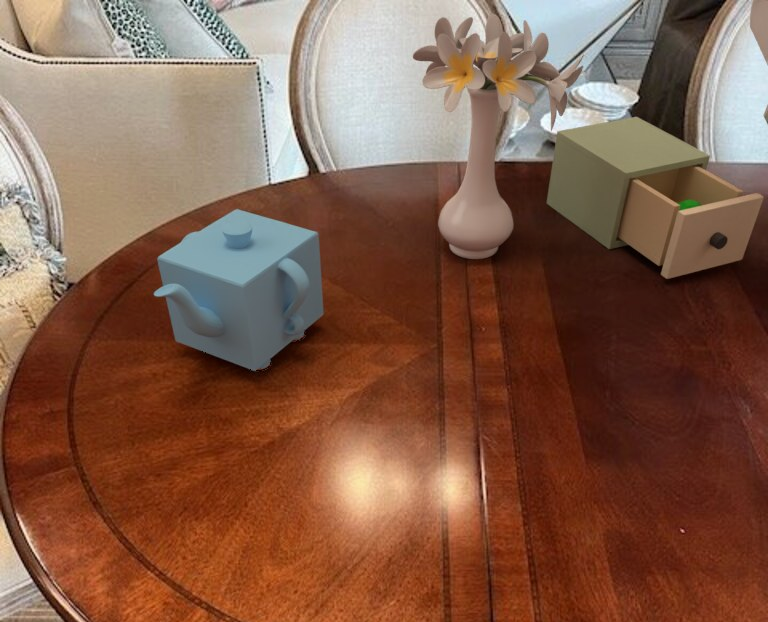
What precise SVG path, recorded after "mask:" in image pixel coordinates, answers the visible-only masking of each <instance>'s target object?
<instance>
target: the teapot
mask: <svg viewBox="0 0 768 622" xmlns="http://www.w3.org/2000/svg"><path fill="white" fill-rule="evenodd" d="M319 235H320V234H319V232H318V231H315V230H311V229H307V228H305V227H301V226H297V225H294V224H290V223H288V222H285V221H280V220H277V219H273V218H269V217H266V216H263V215H259V214H256V213H251V212H248V211H246V210H245V211H244V210H242V209H238V208H236V209H234V210H233V211H230V212H229V213H227V214H225V215H224V216H222V217H221V218H219V219H217V220H216V221H214V222H212V223H210V224H209V225H207V226H206V227H204V228H202V229H201V230H199V231H193V232H189V233H188V234H186V235H185V236H184V237H183V239H182V240H181V242H179V243H178V244H176V245H175V246H173V247H171V248H170V249H168V250H166V251H165V252H163V253H162V254H160V255H158V257H157V258H156V260H157V264H158V270H159V275H160V277H161V282H162V286H160V287H159V288H158V289H156V290H155V291H154V292H153V296H154V297H156V298H157V297H158V298H165V301H166V304H167V310H168V314H169V319H170V323H171V328H172V332H173V336H174V340H175V342H176V343H179V344H182V345H185V346H187V347H190V348H193V349H194V350H198V351H201V352H202V351H203V352H202V353H205V352H206V353H205V354H209V355H211V356H214V357H216V358H218V359H221V360H224V361H226V362H230V363H233V364H234V365H237V366H239V367H243V368H246V369H248V370H250V369H251V370H250V371H253V372H257V371H256V370H257V369H260V368H261V369H263V368H265V367H267V366H268V365H269V364H270V362H271V363H272V361H271V359H272V358H273V357H275V355H277V354H278V353H279V352H280V351H282V350H283V349H285V347H287V346H288V345H289V344H290V343H291V342H293V341H292V340H294V339H300V338H301V337H303V335H304V332H305V331H306V330H307V329H308V328H310V326H312V325H313V324H314V323H315V322H317V321H318V320H319V319H321V317H322V316H324V314H325V312H324V298H323V283H322V282H323V280H322V265H321V249H320V236H319Z"/></svg>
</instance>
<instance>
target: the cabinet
mask: <svg viewBox="0 0 768 622" xmlns="http://www.w3.org/2000/svg"><path fill="white" fill-rule="evenodd" d="M710 158H711V155H710V154H708V153H706V152H704V151H703V150H700V149H698V148H696V147H695V146H693V145H691V144H689V143H687V142H685V141H684V140H681V139H679V138H678V137H676V136H674V135H672V134H670V133H668V132H666V131H664V130H662V129H661V128H659V127H657V126H655V125H653V124H651V123H650V122H648V121H645V120H644V119H642V118H640V117H638V116H633V117H627V118H621V119H616V120H610V121H606V122H600V123H595V124H588V125H584V126H578V127H572V128H568V129H562V130H557V131H556V138H555V144H554V150H553V156H552V163H551V171H550V176H549V177H550V178H549V185H548V191H547V198H546V205H548V206H549V207H550V208H551V209H553V210H555V211H556V212H557V213H559V214H560V215H561V216H563V217H564V218H566V219H567V220H568V221H569V222H571V223H572V224H574V225H575V226H576V227H578V228H579V229H580V230H582V231H583V232H585V233H586V234H587V235H589V236H590V237H591V238H593V239H594V240H595V241H597V242H598V243H600V244H601V245H603V246H604V247H605V248H606V249H608V250H612V249H616V248H617V249H618V248H620V247H625V246H629V245H628V244H627V243H625V242H624V241H623V240H621V239H620V238H618V237H617V234H618V229H619V225H620V220H621V216H622V211H623V207H624V202H625V198H626V193H627V189H628V184H629V180H630V178H635V177H640V176H644V175H649V174H654V173H659V172H664V171H668V170H673V169H678V168H683V167H687V166H692V165H697V166H699V167H701V168H702V169H704V170H706V171H707V168H708V165H709V161H710Z"/></svg>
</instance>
